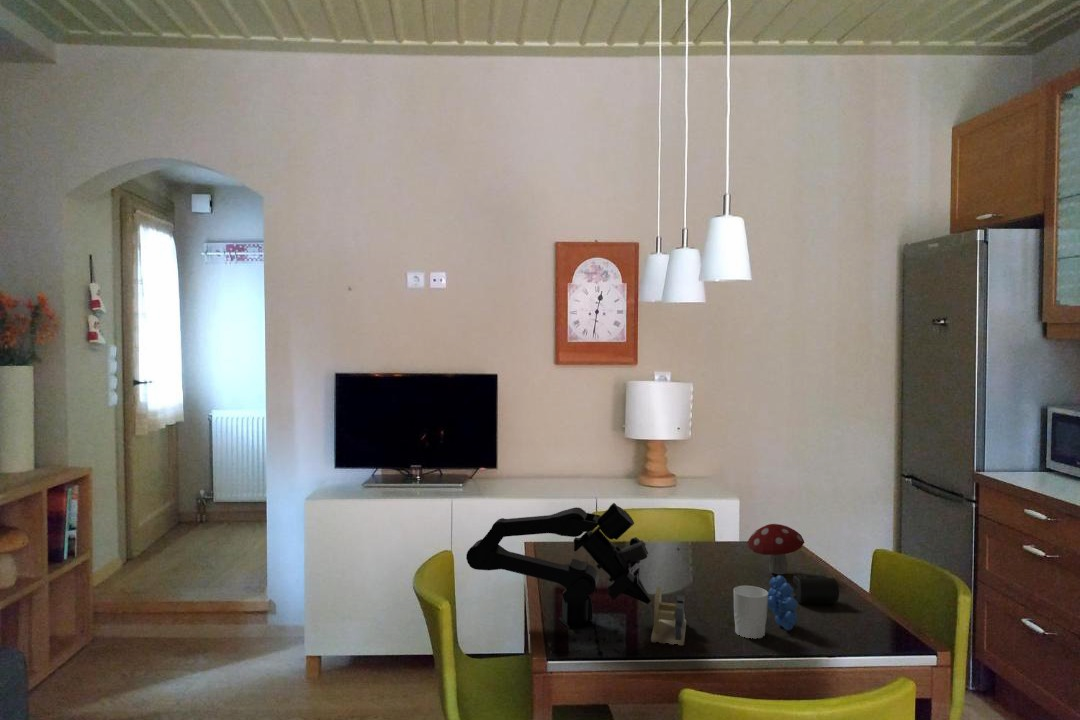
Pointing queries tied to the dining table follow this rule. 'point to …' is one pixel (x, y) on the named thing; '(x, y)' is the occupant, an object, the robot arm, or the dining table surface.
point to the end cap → (815, 590)
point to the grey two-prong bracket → (679, 618)
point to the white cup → (750, 611)
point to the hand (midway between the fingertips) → (649, 602)
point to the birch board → (667, 633)
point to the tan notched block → (662, 610)
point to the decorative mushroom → (775, 545)
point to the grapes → (782, 602)
